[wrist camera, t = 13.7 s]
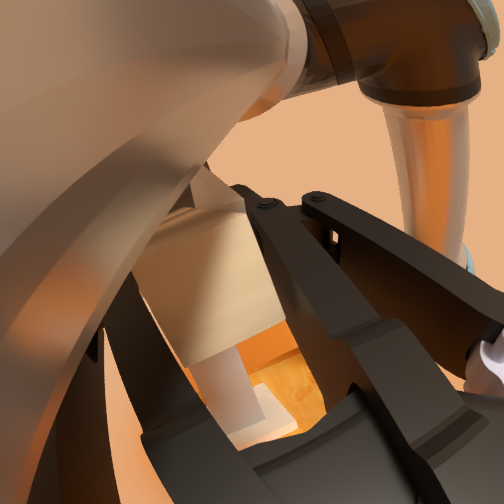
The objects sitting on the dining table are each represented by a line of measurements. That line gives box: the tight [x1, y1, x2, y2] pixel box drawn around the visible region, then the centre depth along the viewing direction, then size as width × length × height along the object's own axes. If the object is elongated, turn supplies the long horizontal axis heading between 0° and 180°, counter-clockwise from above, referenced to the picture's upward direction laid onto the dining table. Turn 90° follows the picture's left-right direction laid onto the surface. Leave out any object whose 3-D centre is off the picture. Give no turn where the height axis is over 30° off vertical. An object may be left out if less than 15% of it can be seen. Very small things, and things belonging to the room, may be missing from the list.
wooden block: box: [131, 161, 286, 368], centre depth 19 cm, size 27×10×7 cm, turn 16°
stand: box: [139, 290, 298, 451], centre depth 45 cm, size 16×16×30 cm
